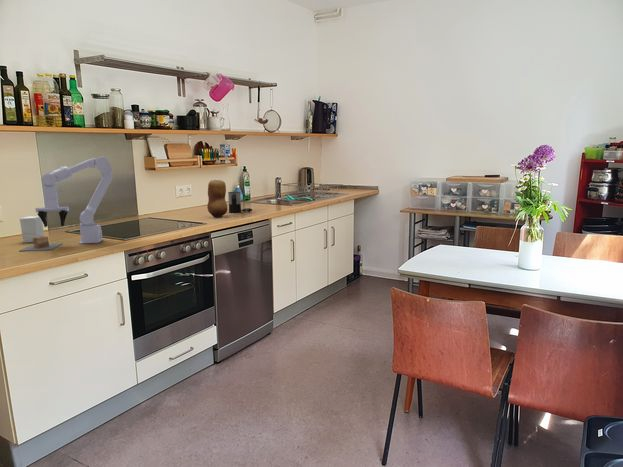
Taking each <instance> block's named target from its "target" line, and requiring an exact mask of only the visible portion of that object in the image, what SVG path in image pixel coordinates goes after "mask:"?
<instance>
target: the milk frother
mask: <svg viewBox="0 0 623 467" xmlns="http://www.w3.org/2000/svg"><path fill="white" fill-rule="evenodd" d="M227 193H228V197H227V198H228V213H229V214H238V213H242V212H244V213H246V212H247V213H251V212H252V211H253V209H252V208H243V209H242V205H241V204H242V203H241V201H242V200H241V191H228V192H227Z"/></svg>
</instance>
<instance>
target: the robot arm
mask: <svg viewBox="0 0 623 467" xmlns="http://www.w3.org/2000/svg"><path fill="white" fill-rule="evenodd" d="M87 168H89V169H90V168H91V169H93V168H97V169H98V170H99V171H100V175H101V176H102V177H101V179H100V181H99V183H98V185H97V187H96V189H95V191H94V193H93V194H92V197H91V198H90V200H89V202H88V204H87V206H85V207H86V208H85V209H84V210H83V211H81V212H80V213H79V214H80V215H79V222H80V223H79V232H80V241H79V242H78V244H81V245H82V244H99V243H100V242H102V241H103V232H102V227H101V224H97V223H96V222H94V219H95V217H94V216H95V214H96V212H97V209H98V207H99V206H100V204H101V202H102V200H103V198H104V196H105V194H106V192H107V190H108V188H109V186H110V185H111V183H112V181H113V178H114V176H113V171H112V170H113V169H112V164H111V163H110V160H109V159H108V158H107V157H105V156H101V155H100V156H98V157H97V158H96V157H94V158H90V159H86V160H84V161H82V162H79V163H77V164H75V165H72V166H69V167H68V166H59V168H58V169H55V170H49V173H45V174H43V175H42V176H41V183H42V188H43V189H42V192H43V198H44V199H43V200H44V206H45V207H36V208H34V209H35V210H34V211H35V213H37V216H39V217H40V218H41V220H42V224H43V227H44V228H47V227H48V226H49V225H48V219H47V217H48V212H49V213H51V212H58V215H59V219H60V226H61V227H65V222H66V218H67V215H68V212H69V211H70V207H69V206H60V205H59V199H58V198H59V196H58V190H57V189H58V188H57V185H56V183H60V182H63V181H66V180H68V179H70V178H72V177H73V174H75V173H78V172H80V171H83V170H85V169H87Z"/></svg>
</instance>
